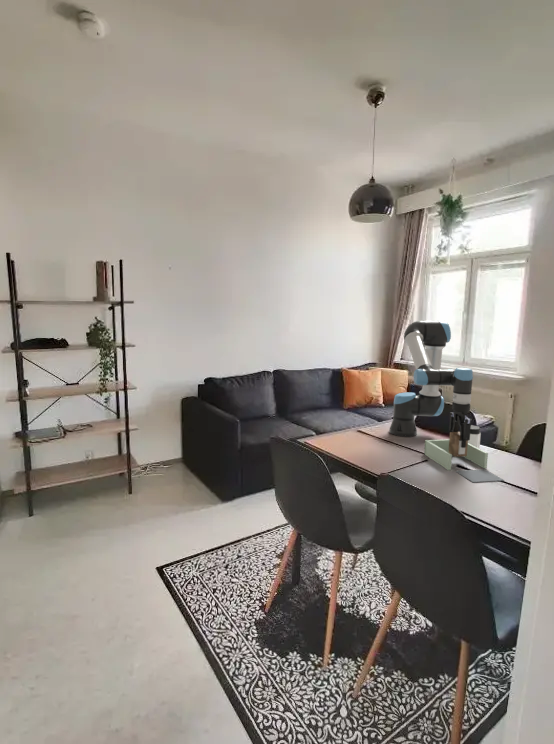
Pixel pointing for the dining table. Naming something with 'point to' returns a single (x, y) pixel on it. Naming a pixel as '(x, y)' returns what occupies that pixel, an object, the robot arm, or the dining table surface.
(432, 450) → the u-shaped enclosure
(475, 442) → the jar
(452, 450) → the block
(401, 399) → the robot arm
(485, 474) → the mat
